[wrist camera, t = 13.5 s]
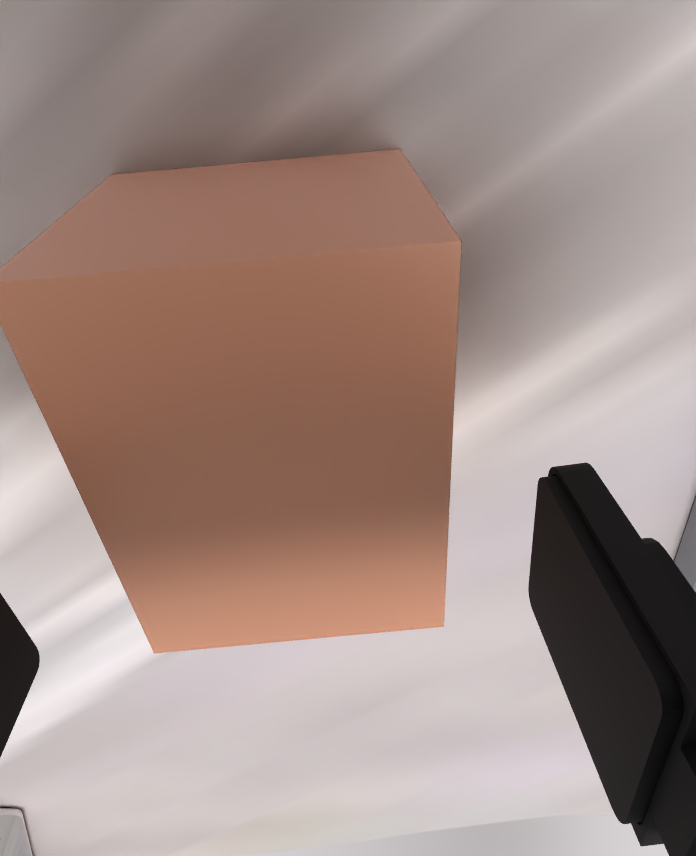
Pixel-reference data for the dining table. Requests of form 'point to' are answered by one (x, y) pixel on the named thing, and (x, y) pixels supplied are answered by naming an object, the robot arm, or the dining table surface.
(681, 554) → the baseplate
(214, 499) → the terracotta brick
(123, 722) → the dining table surface
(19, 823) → the container
